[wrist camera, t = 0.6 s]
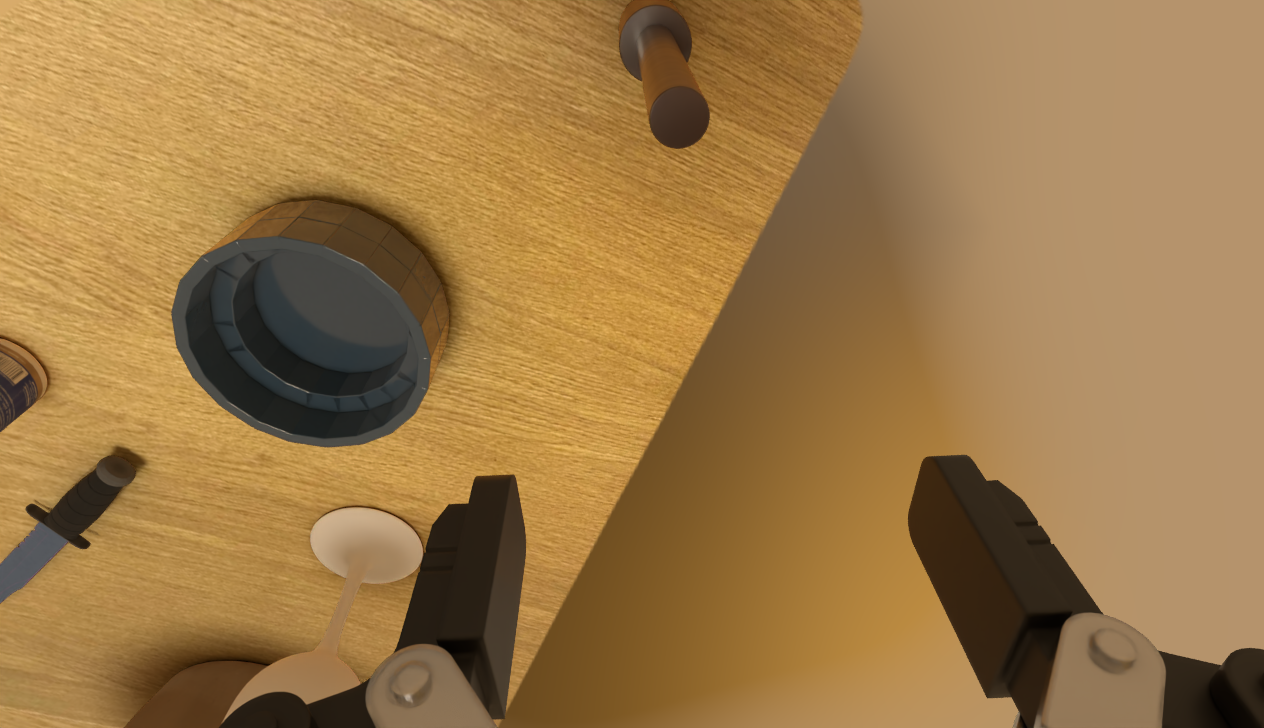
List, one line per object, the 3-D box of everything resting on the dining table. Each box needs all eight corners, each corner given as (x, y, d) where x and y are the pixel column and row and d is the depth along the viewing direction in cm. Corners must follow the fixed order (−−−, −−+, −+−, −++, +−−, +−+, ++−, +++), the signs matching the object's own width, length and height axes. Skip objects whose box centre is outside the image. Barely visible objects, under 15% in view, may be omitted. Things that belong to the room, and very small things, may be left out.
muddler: (626, -14, 33) (636, 43, 18) (689, 2, 33) (752, 72, 18) (612, 55, 35) (611, 161, 20) (672, 71, 35) (717, 185, 20)
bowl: (215, 172, 37) (154, 212, 32) (460, 223, 39) (438, 267, 34) (236, 369, 45) (188, 427, 40) (442, 404, 46) (422, 462, 41)
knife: (69, 452, 45) (135, 500, 47) (98, 432, 47) (160, 478, 49) (-55, 593, 55) (2, 628, 56) (-27, 571, 57) (28, 606, 58)
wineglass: (293, 512, 52) (129, 816, 34) (403, 500, 51) (295, 801, 34) (335, 586, 56) (209, 886, 39) (436, 575, 56) (356, 874, 38)
